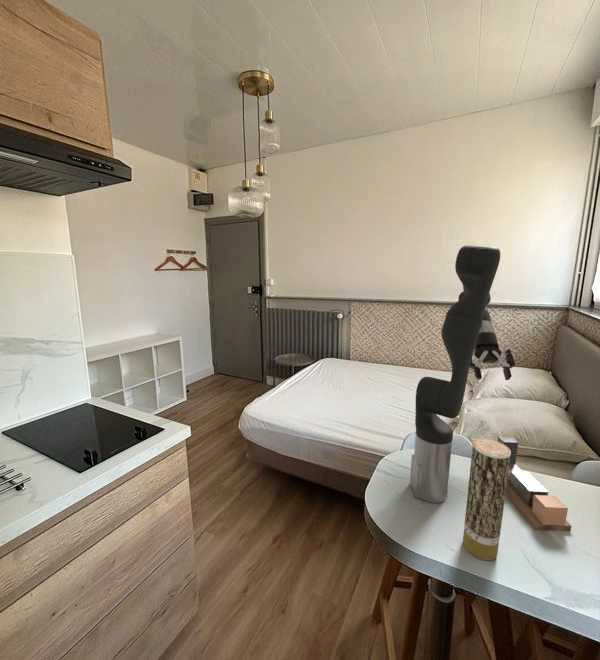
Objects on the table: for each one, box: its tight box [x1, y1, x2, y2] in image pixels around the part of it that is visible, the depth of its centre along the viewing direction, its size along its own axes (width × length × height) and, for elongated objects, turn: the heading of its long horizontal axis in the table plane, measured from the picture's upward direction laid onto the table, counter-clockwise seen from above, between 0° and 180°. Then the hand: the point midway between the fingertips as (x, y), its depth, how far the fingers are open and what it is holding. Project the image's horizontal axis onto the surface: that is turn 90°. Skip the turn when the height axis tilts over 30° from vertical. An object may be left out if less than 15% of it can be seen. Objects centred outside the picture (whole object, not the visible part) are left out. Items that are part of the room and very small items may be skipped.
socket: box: [532, 495, 569, 526], centre depth 75 cm, size 5×4×5 cm
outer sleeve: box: [509, 471, 549, 506], centre depth 83 cm, size 5×8×4 cm, turn 176°
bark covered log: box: [462, 438, 511, 561], centre depth 67 cm, size 7×7×25 cm
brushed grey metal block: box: [497, 436, 546, 505], centre depth 86 cm, size 4×16×10 cm, turn 176°
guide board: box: [505, 479, 573, 532], centre depth 84 cm, size 8×20×2 cm, turn 176°
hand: (494, 379), depth 102 cm, fingers open, 8 cm apart
